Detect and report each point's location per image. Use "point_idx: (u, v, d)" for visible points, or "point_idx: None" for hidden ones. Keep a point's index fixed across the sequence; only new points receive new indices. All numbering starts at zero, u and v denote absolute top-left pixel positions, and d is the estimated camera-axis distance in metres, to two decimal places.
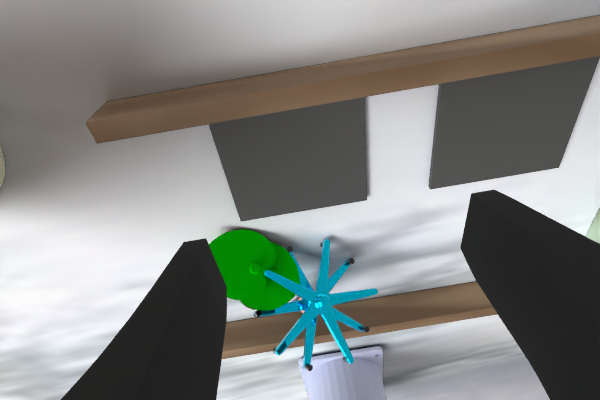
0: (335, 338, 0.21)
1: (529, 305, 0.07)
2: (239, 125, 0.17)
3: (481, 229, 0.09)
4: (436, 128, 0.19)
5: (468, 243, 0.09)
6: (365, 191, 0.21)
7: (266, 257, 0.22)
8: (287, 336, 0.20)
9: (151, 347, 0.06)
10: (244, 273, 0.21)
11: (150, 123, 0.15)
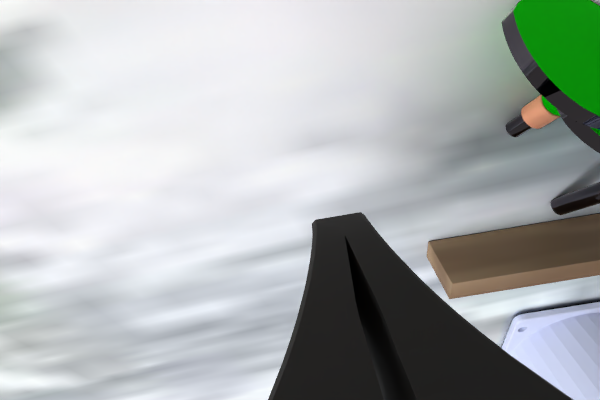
0: None
1: (369, 331, 0.07)
2: None
3: None
4: None
5: None
6: None
7: None
8: None
9: (351, 314, 0.06)
10: None
11: None
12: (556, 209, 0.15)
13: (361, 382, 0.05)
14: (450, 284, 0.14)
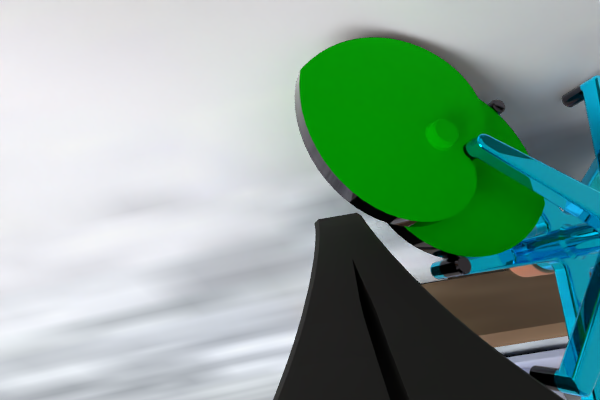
0: None
1: None
2: None
3: None
4: None
5: None
6: None
7: (462, 110, 0.08)
8: (590, 331, 0.06)
9: (356, 314, 0.06)
10: (415, 146, 0.07)
11: None
12: None
13: (366, 381, 0.05)
14: None
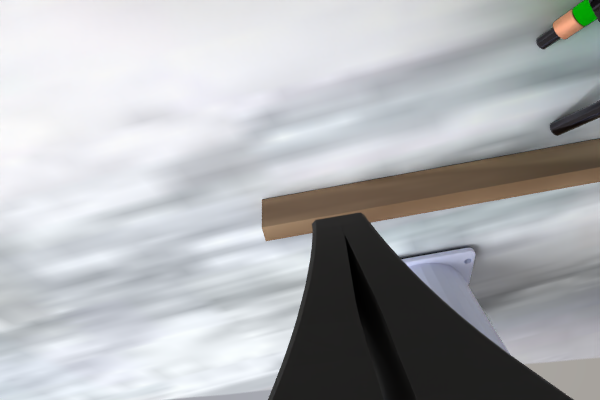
0: None
1: (369, 331, 0.07)
2: None
3: None
4: None
5: None
6: None
7: None
8: None
9: (351, 314, 0.06)
10: None
11: None
12: (554, 129, 0.18)
13: (361, 382, 0.05)
14: (262, 228, 0.18)
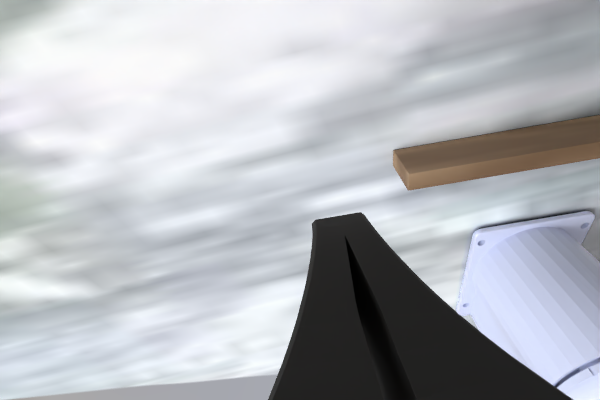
0: None
1: (369, 331, 0.07)
2: None
3: None
4: None
5: None
6: None
7: None
8: None
9: (351, 314, 0.06)
10: None
11: None
12: None
13: (361, 382, 0.05)
14: (408, 176, 0.17)
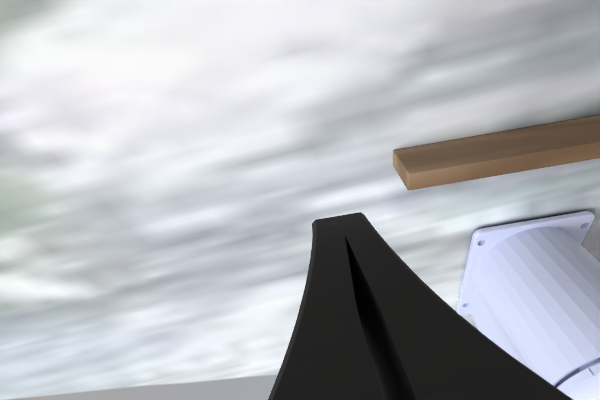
0: None
1: (369, 331, 0.07)
2: None
3: None
4: None
5: None
6: None
7: None
8: None
9: (351, 314, 0.06)
10: None
11: None
12: None
13: (361, 382, 0.05)
14: (408, 176, 0.17)
